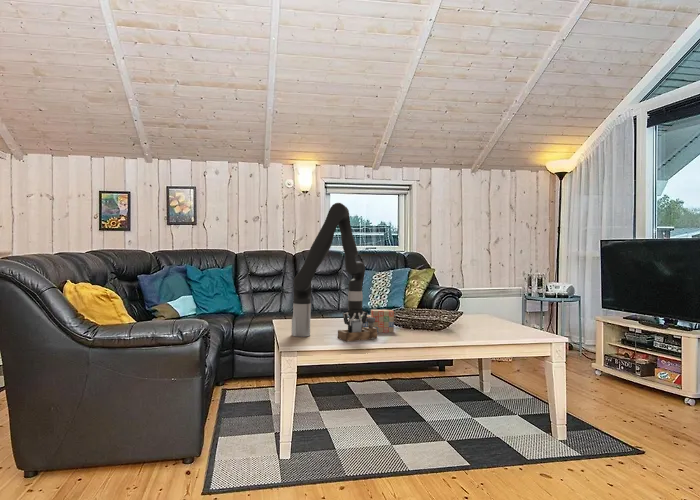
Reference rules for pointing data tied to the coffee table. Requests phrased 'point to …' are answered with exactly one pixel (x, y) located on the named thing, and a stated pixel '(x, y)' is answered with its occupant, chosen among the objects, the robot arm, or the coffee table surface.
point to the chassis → (358, 334)
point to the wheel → (371, 319)
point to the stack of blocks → (381, 320)
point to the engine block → (356, 326)
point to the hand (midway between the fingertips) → (354, 332)
